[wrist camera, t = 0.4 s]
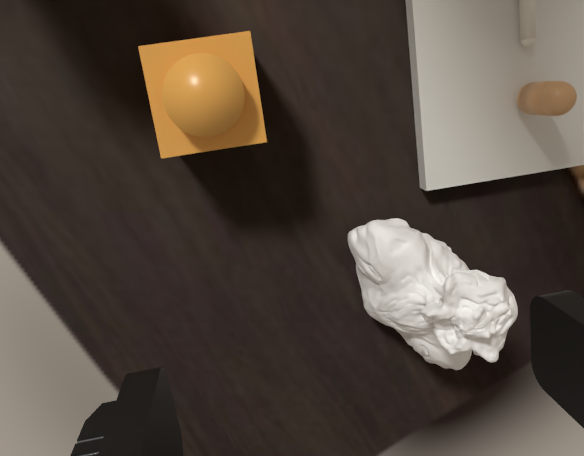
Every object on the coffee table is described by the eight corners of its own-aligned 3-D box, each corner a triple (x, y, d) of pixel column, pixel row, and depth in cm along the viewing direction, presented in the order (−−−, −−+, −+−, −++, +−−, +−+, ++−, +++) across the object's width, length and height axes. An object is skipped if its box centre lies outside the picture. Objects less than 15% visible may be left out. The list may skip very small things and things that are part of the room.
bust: (432, 322, 41) (582, 322, 32) (384, 396, 37) (542, 420, 28) (354, 197, 38) (498, 158, 29) (293, 263, 33) (438, 241, 24)
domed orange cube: (154, 55, 32) (133, 43, 25) (246, 42, 32) (251, 27, 25) (173, 147, 33) (158, 161, 26) (260, 134, 33) (268, 144, 27)
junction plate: (401, -47, 32) (437, -76, 26) (616, -75, 33) (692, -108, 27) (420, 187, 36) (454, 204, 30) (612, 156, 37) (678, 166, 31)
